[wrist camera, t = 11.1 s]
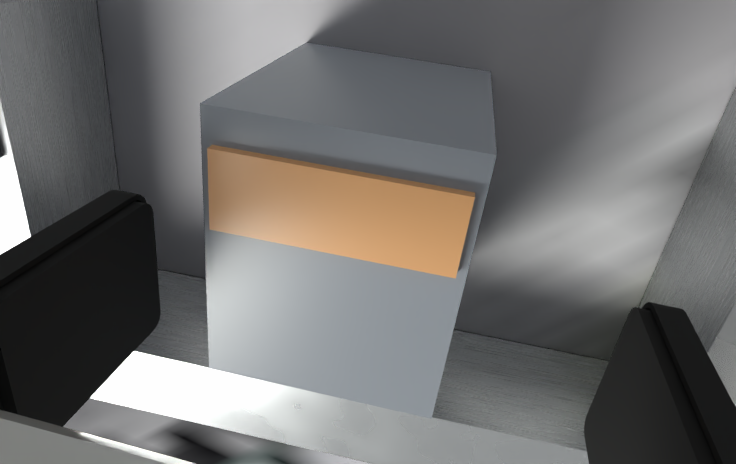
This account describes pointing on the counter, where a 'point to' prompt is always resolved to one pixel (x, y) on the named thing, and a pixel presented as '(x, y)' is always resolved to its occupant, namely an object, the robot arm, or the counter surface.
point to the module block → (344, 220)
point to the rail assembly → (301, 407)
